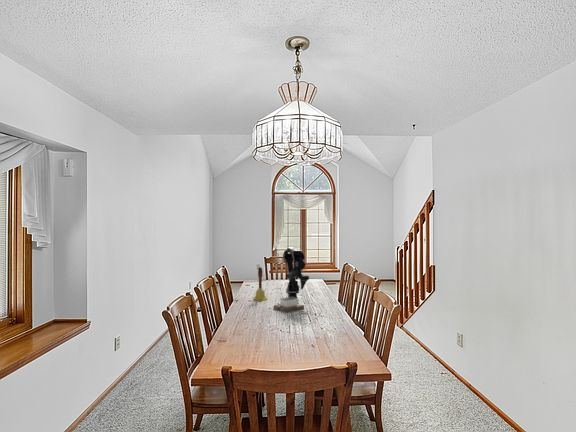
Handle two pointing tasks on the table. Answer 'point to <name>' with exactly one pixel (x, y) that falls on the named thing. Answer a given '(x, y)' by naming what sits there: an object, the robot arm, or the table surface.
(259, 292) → the handbell
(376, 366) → the table surface
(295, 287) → the robot arm
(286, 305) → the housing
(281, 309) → the walnut stand
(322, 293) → the table surface
